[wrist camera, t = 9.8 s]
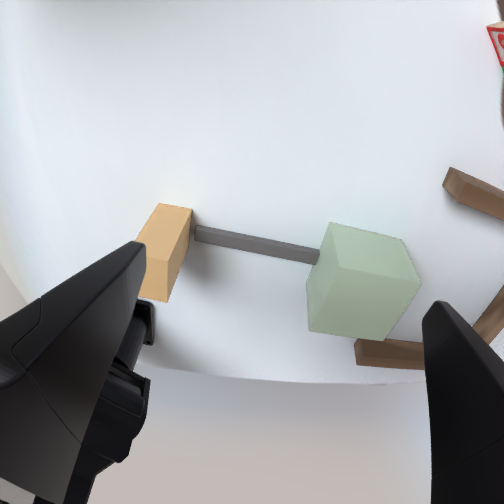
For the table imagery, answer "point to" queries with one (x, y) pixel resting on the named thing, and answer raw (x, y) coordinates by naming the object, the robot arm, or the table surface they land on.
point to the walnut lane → (492, 320)
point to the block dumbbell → (324, 262)
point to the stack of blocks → (498, 40)
